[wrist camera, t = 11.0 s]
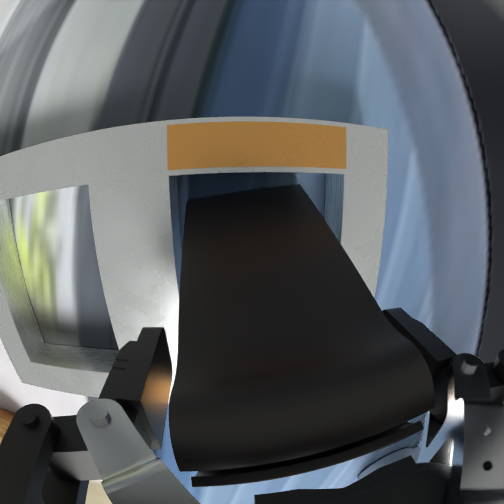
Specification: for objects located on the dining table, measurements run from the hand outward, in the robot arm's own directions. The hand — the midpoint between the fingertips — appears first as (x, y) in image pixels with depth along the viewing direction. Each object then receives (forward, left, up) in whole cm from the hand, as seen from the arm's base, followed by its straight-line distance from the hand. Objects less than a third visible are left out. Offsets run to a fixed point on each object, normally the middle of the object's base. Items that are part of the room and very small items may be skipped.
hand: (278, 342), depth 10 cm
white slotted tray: (+6, 0, -7) cm, 9 cm away
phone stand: (0, 0, -7) cm, 7 cm away
